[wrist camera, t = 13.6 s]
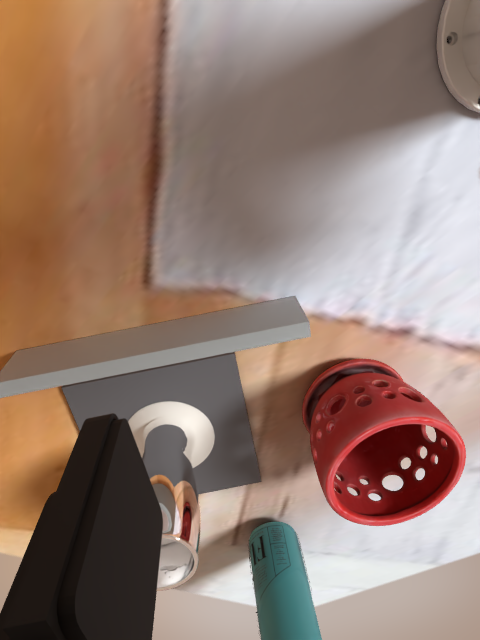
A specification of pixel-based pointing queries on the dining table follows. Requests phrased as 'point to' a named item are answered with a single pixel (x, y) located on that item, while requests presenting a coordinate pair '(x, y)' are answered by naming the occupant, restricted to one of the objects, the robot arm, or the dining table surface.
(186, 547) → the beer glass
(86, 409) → the dark gray mat
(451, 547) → the dining table surface
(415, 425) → the plant pot
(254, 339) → the low wall
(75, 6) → the dining table surface
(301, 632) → the beverage bottle
